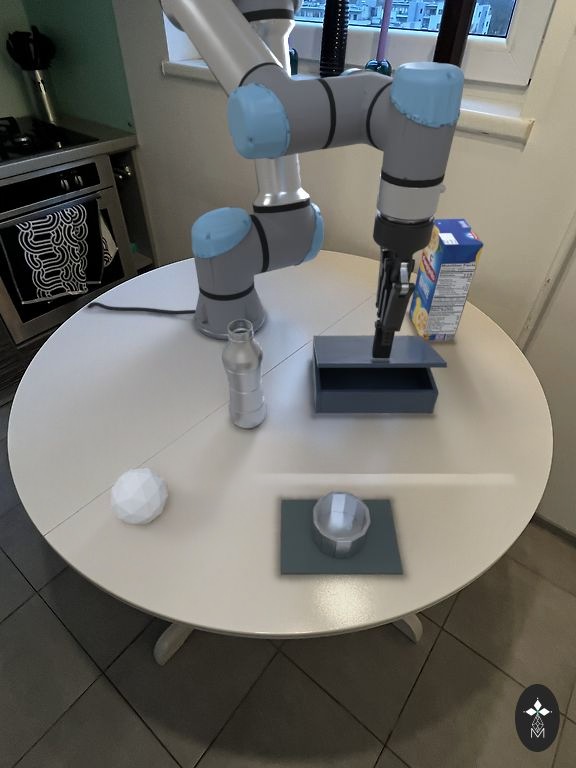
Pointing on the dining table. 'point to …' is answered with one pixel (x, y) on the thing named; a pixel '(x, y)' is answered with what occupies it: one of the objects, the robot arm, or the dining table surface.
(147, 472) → the geometric ball
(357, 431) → the dining table surface
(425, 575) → the dining table surface
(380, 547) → the mat
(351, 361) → the chest lid
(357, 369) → the box
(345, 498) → the grey hollow cylinder
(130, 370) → the dining table surface
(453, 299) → the blue cereal box
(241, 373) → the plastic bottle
